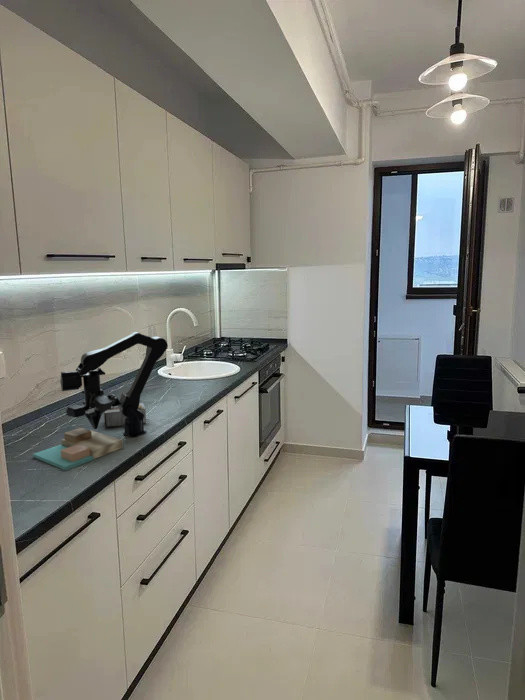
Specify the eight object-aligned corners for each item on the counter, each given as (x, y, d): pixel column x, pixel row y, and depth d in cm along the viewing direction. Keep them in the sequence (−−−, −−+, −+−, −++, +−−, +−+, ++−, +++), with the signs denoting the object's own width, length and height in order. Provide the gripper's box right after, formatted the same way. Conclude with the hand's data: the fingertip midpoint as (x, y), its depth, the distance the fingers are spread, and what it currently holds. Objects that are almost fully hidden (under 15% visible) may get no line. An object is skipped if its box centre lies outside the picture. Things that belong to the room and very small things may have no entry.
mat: (60, 447, 167) (60, 444, 167) (93, 459, 156) (92, 456, 156) (33, 457, 159) (33, 453, 159) (65, 470, 148) (65, 466, 148)
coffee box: (144, 416, 201) (104, 421, 196) (143, 402, 200) (103, 406, 194) (146, 423, 192) (104, 428, 187) (145, 408, 191) (103, 412, 186)
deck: (91, 437, 176) (91, 430, 176) (122, 447, 166) (122, 439, 166) (62, 447, 167) (61, 439, 166) (93, 459, 156) (92, 450, 156)
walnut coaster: (81, 434, 172) (80, 427, 171) (91, 437, 168) (91, 431, 168) (64, 439, 166) (64, 432, 166) (75, 443, 163) (74, 436, 162)
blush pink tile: (78, 451, 160) (78, 444, 160) (90, 455, 157) (89, 448, 156) (61, 457, 155) (60, 450, 155) (72, 461, 152) (71, 454, 151)
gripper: (82, 396, 158) (86, 440, 161) (127, 385, 173) (130, 425, 176) (63, 392, 164) (67, 434, 167) (108, 381, 179) (111, 420, 182)
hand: (95, 428), depth 173 cm, fingers closed
